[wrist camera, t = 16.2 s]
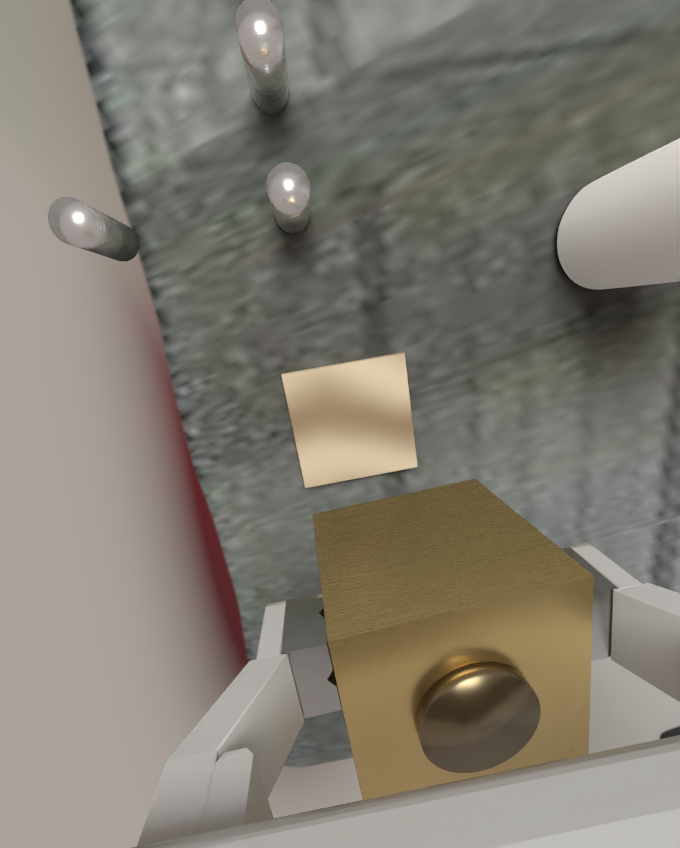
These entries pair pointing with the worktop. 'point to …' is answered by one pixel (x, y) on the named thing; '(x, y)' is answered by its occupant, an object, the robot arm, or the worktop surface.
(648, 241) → the can
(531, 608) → the cube with brass knob
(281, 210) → the spacer posts
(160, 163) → the worktop surface
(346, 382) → the coaster
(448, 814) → the robot arm
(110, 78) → the worktop surface
